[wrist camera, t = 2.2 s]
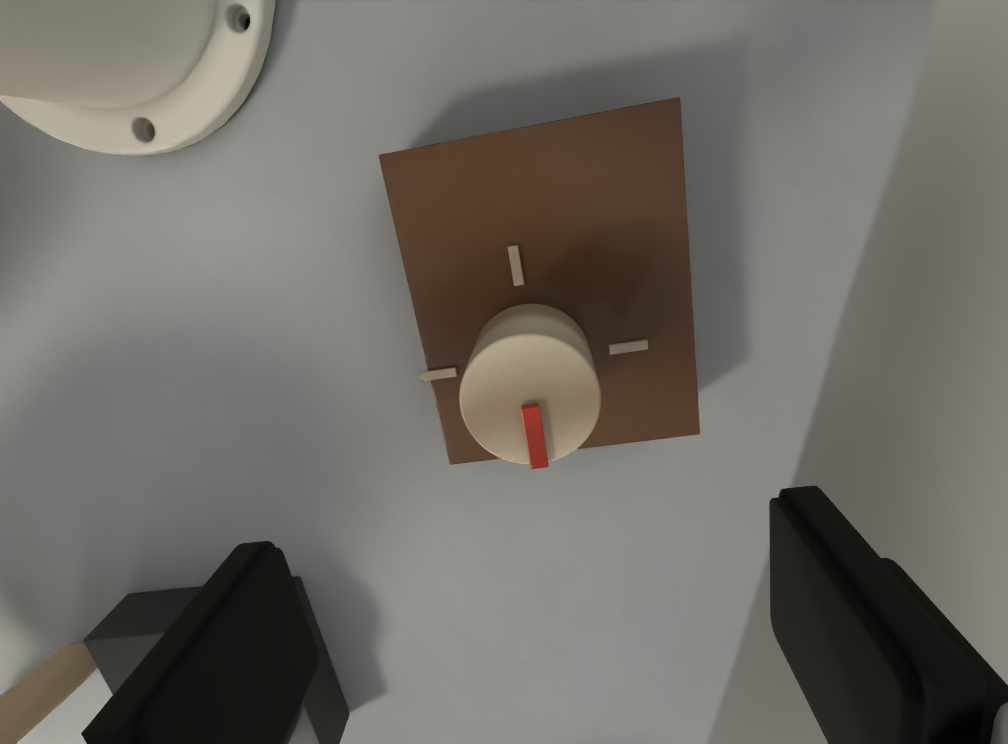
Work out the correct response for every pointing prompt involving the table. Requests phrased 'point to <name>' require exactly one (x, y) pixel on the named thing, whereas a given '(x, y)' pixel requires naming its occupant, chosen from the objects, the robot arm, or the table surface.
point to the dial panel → (557, 258)
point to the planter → (43, 691)
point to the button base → (152, 614)
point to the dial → (530, 386)
